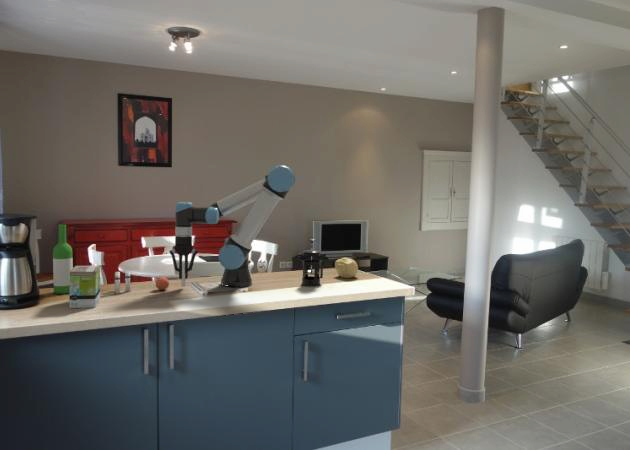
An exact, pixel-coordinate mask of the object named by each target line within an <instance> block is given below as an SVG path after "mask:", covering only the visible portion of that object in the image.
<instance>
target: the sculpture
mask: <svg viewBox="0 0 630 450" xmlns="http://www.w3.org/2000/svg"><path fill="white" fill-rule="evenodd" d="M358 266H359V265H358V264H357V262H356V260H354V259H352V258H350V257H345V256H344V257H341V258H339V259H337V260H336V261H335V262H334V269H335V270H336V273H337V275H338V277H340V278H344V279H350V278H354V277H356V276H357V274H358V271H359V267H358Z"/></svg>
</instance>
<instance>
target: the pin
mask: <svg viewBox="0 0 630 450" xmlns="http://www.w3.org/2000/svg"><path fill="white" fill-rule="evenodd" d="M120 293H121V273H120V274H115V273H114V294H115V295H118V294H120Z"/></svg>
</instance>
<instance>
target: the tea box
mask: <svg viewBox="0 0 630 450" xmlns="http://www.w3.org/2000/svg"><path fill="white" fill-rule="evenodd" d="M100 300H101V265H75V266H74V267H73V269H72V270H71V271H70V293H69V305H68V306H69V309H82V308H84V309H85V308H87V309H89V308H96V307H97V305H98V304H99V301H100Z"/></svg>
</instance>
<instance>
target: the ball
mask: <svg viewBox="0 0 630 450" xmlns="http://www.w3.org/2000/svg"><path fill="white" fill-rule="evenodd" d="M169 286H170V281H169V280H168V278H167V277H164V276H161V277H158V278H157V279H156V280H155V287H156V288H157V290H159V291H165V290H166V289H168V288H169Z"/></svg>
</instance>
